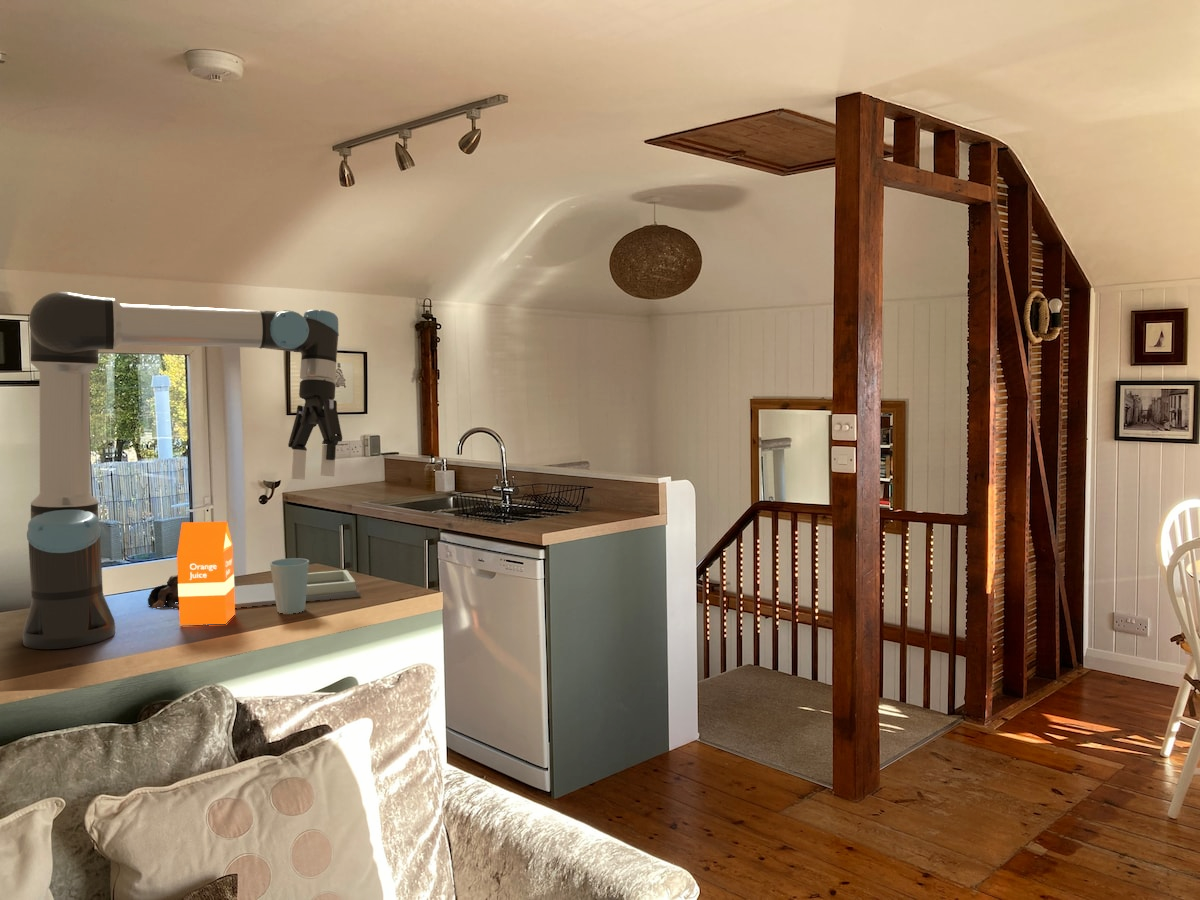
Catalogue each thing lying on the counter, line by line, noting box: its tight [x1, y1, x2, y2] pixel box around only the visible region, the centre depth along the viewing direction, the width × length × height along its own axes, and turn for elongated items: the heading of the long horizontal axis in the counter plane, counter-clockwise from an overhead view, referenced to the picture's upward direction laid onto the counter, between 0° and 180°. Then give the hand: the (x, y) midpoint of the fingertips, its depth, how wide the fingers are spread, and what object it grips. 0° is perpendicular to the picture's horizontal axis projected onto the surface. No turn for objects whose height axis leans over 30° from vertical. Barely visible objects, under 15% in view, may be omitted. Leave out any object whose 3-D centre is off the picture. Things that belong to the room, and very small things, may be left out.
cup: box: [269, 557, 310, 615], centre depth 196 cm, size 8×8×10 cm
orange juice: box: [176, 521, 236, 626], centre depth 189 cm, size 8×9×20 cm
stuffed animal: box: [147, 574, 179, 610], centre depth 205 cm, size 12×10×12 cm
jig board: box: [234, 569, 360, 609], centre depth 211 cm, size 26×17×3 cm, turn 113°
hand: (312, 477), depth 205 cm, fingers open, 13 cm apart
